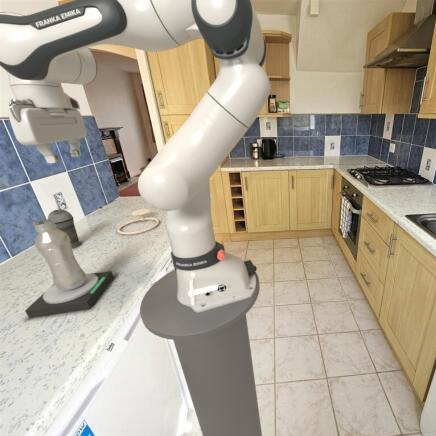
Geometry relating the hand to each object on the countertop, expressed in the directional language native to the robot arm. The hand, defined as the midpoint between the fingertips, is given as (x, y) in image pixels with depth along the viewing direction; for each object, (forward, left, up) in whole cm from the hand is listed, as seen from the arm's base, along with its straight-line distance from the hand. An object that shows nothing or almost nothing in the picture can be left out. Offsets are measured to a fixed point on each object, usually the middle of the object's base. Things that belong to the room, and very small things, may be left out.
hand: (66, 159), depth 63 cm
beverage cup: (+25, -26, -37) cm, 52 cm away
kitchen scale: (+6, +8, -37) cm, 38 cm away
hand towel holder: (+5, -41, -37) cm, 56 cm away
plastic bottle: (+5, +8, -34) cm, 35 cm away
